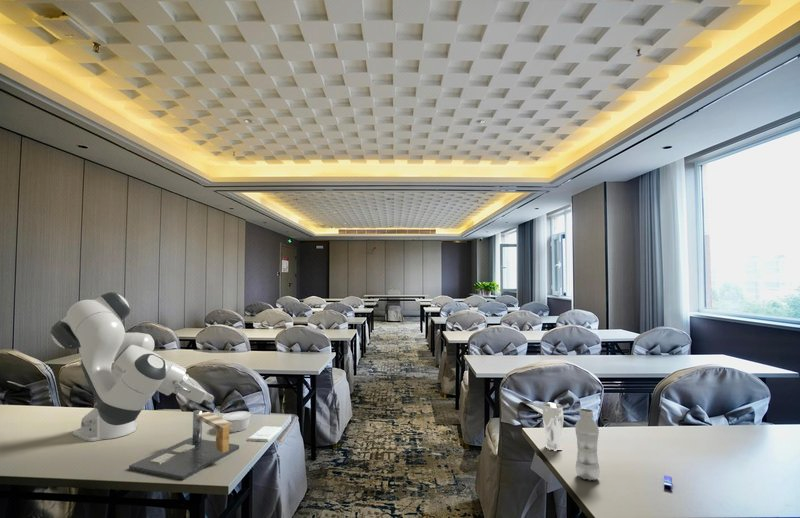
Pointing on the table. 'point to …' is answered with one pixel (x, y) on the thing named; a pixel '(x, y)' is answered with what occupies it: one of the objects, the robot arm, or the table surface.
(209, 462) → the base plate
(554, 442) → the beer glass
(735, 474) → the table surface
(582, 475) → the plastic bottle
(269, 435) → the external hard drive
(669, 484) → the eraser
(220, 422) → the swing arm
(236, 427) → the ramekin
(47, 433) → the table surface
